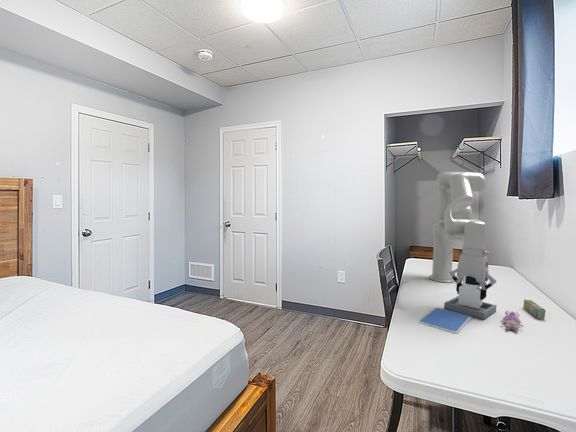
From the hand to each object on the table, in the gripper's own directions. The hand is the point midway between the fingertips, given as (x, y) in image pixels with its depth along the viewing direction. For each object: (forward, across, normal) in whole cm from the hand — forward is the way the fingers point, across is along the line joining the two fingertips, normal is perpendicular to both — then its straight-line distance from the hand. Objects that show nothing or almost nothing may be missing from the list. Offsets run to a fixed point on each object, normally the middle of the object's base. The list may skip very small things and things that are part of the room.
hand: (470, 296), depth 119 cm
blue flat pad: (+6, +2, +19) cm, 20 cm away
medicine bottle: (+4, 0, 0) cm, 4 cm away
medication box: (+6, -17, -17) cm, 25 cm away
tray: (+6, 0, 0) cm, 6 cm away
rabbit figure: (+6, -15, +4) cm, 17 cm away
